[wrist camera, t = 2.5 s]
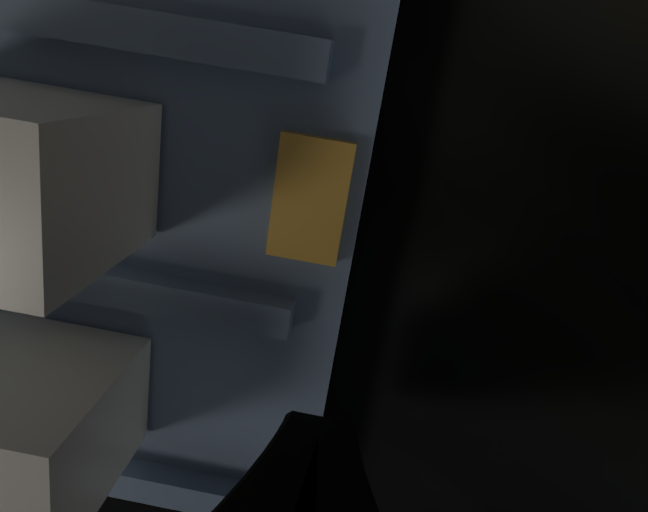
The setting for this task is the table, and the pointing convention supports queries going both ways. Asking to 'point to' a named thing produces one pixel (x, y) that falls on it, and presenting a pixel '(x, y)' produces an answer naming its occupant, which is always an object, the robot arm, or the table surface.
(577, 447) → the table surface
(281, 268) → the switch bank
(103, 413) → the grey block
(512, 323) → the table surface
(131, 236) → the gray block
